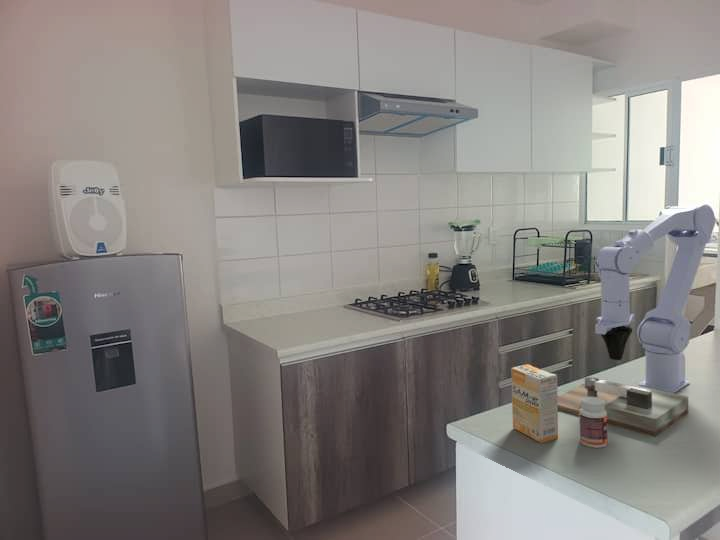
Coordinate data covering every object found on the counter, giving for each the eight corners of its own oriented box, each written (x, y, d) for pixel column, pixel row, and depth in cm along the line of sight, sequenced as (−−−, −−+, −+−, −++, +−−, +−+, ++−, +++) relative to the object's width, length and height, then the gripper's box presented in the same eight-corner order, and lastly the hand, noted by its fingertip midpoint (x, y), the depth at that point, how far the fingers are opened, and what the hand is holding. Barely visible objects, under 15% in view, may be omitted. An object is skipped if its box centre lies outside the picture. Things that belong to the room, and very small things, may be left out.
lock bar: (582, 388, 114) (582, 379, 114) (589, 384, 116) (588, 376, 116) (646, 403, 104) (646, 393, 103) (652, 399, 106) (652, 389, 105)
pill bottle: (610, 448, 94) (610, 405, 93) (583, 448, 95) (582, 404, 94) (603, 437, 99) (603, 395, 98) (577, 436, 100) (576, 395, 99)
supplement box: (511, 429, 105) (509, 367, 104) (530, 423, 107) (528, 363, 106) (540, 444, 98) (538, 378, 96) (559, 438, 99) (558, 373, 98)
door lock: (583, 387, 125) (582, 362, 125) (688, 412, 107) (688, 382, 107) (546, 406, 116) (546, 378, 115) (655, 436, 98) (655, 404, 97)
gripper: (612, 293, 122) (613, 349, 124) (581, 303, 113) (582, 363, 115) (643, 296, 117) (644, 354, 118) (613, 306, 108) (614, 369, 109)
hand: (615, 359), depth 116 cm, fingers closed
